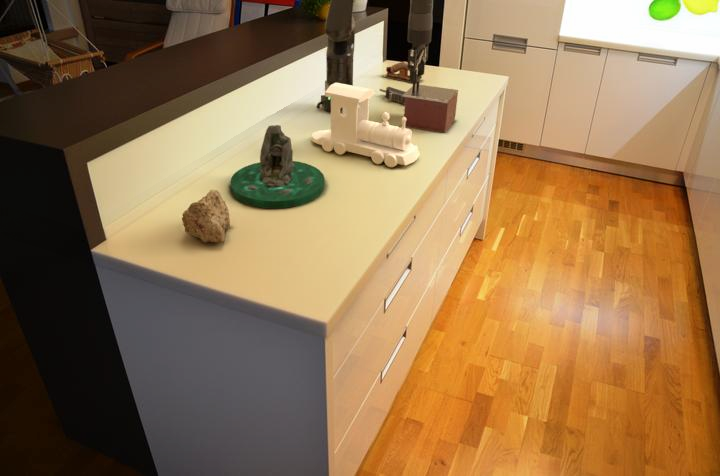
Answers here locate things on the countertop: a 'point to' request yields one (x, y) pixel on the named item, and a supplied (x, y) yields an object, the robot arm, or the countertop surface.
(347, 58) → the robot arm
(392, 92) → the toy gun
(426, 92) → the lid
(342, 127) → the toy train
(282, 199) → the diorama
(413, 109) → the open wooden cubby
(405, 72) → the sculpture
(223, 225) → the rock
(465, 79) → the countertop surface
